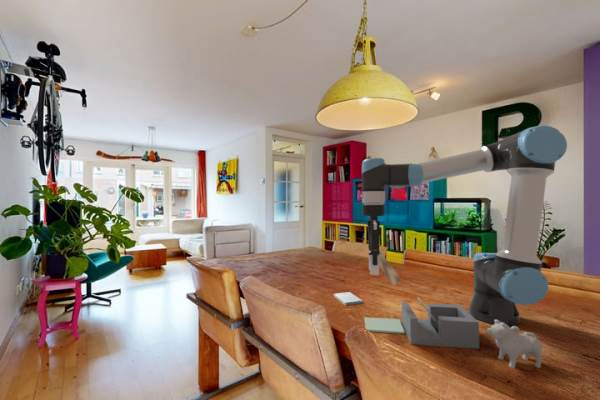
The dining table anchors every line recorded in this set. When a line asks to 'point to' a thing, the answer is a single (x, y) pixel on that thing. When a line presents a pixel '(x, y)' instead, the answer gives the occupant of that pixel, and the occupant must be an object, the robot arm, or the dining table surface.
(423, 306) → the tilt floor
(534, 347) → the animal figurine
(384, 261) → the tile
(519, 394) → the dining table surface
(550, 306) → the dining table surface
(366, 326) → the mat
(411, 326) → the dock
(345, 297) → the hard drive
